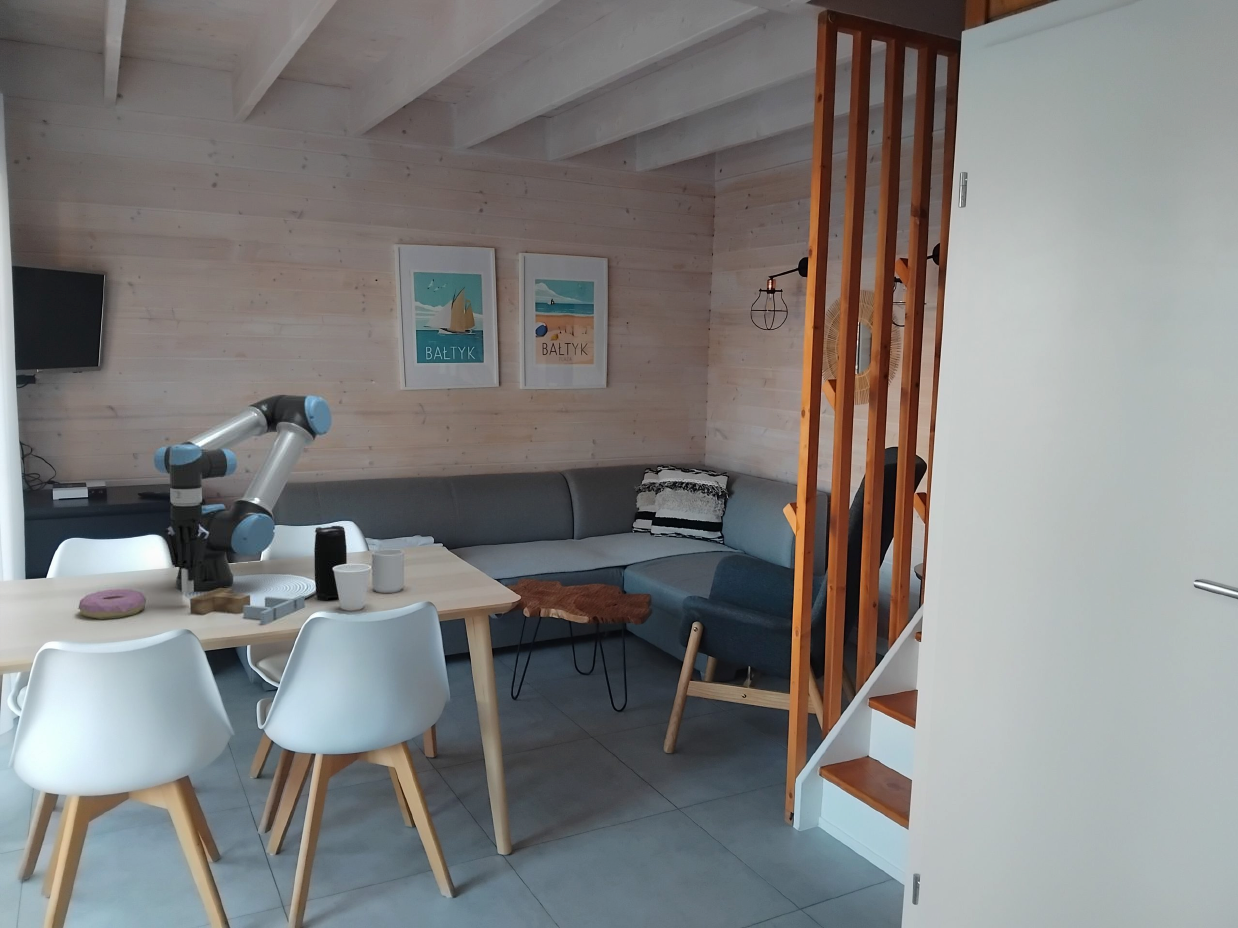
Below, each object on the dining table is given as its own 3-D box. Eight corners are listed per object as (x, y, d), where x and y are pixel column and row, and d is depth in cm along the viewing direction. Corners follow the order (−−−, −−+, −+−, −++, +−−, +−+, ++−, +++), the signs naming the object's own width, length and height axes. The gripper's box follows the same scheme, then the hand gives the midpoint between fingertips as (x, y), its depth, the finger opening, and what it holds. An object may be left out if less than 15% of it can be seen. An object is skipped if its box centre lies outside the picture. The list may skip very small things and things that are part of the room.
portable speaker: (339, 591, 272) (339, 524, 270) (352, 598, 265) (351, 529, 263) (309, 595, 267) (309, 526, 265) (321, 603, 260) (321, 532, 257)
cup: (375, 603, 261) (374, 563, 259) (366, 613, 251) (366, 571, 250) (338, 602, 260) (337, 563, 259) (328, 612, 250) (328, 571, 249)
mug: (405, 592, 273) (405, 554, 272) (373, 594, 270) (373, 555, 269) (401, 583, 284) (401, 546, 283) (370, 584, 281) (370, 547, 280)
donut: (71, 611, 246) (70, 593, 246) (134, 602, 257) (134, 584, 256) (90, 625, 235) (89, 605, 235) (155, 614, 246) (154, 595, 246)
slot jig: (234, 621, 240) (233, 609, 240) (276, 603, 258) (275, 593, 257) (264, 624, 238) (264, 612, 238) (304, 606, 256) (304, 595, 255)
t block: (190, 613, 247) (190, 598, 246) (220, 602, 258) (219, 587, 258) (231, 617, 244) (230, 602, 243) (259, 606, 255) (259, 591, 255)
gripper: (154, 504, 248) (156, 593, 251) (198, 507, 245) (199, 597, 248) (174, 500, 256) (176, 587, 258) (217, 503, 253) (218, 591, 255)
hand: (187, 592), depth 253 cm, fingers closed
